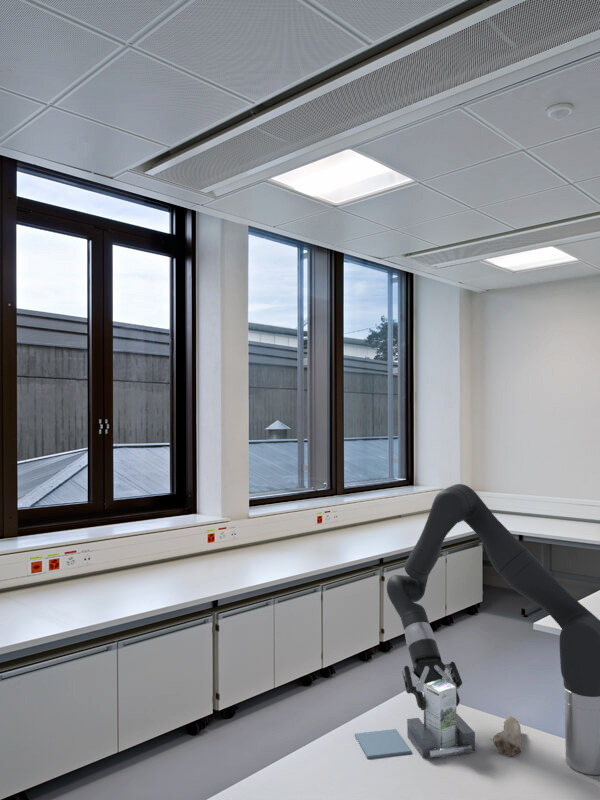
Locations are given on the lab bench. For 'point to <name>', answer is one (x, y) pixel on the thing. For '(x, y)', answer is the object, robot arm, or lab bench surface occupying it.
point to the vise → (426, 740)
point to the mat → (382, 743)
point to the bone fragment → (509, 738)
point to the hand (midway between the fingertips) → (440, 707)
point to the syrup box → (441, 713)
